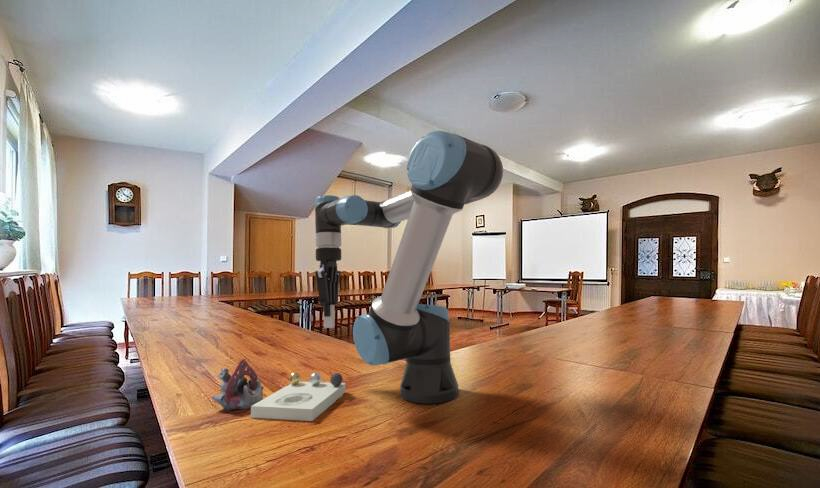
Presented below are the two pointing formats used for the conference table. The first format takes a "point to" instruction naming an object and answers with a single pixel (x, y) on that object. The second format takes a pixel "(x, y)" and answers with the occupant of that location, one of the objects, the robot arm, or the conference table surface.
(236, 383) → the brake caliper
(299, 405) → the board
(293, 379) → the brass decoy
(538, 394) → the conference table surface
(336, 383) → the dark grey ball
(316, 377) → the steel ball
